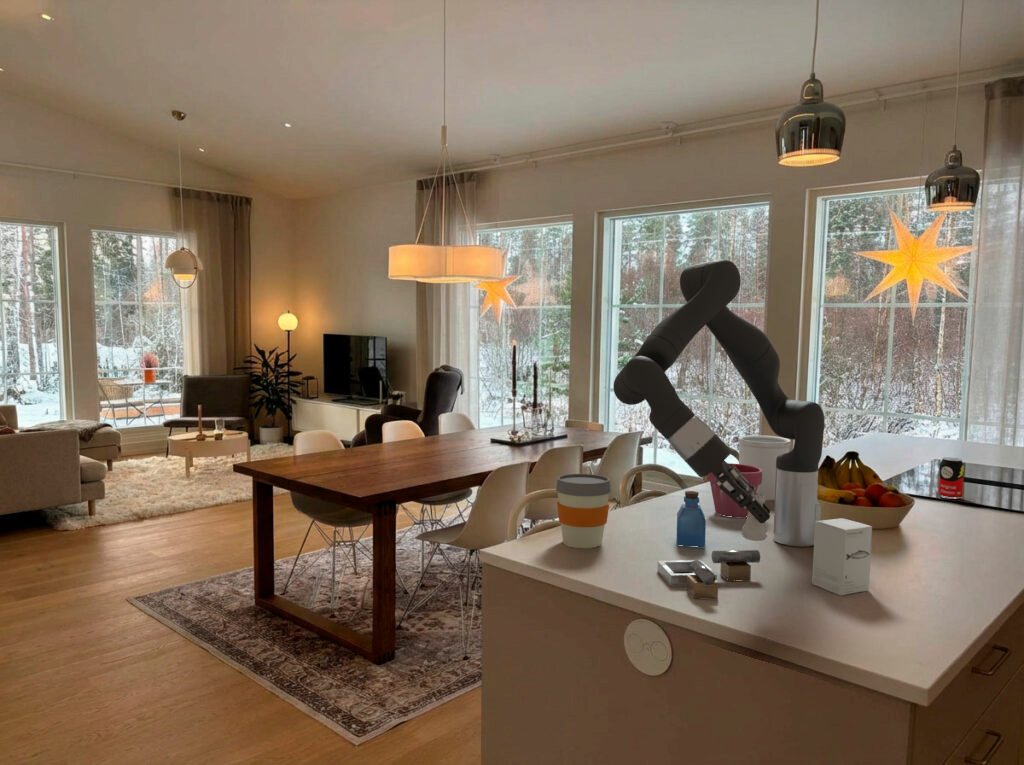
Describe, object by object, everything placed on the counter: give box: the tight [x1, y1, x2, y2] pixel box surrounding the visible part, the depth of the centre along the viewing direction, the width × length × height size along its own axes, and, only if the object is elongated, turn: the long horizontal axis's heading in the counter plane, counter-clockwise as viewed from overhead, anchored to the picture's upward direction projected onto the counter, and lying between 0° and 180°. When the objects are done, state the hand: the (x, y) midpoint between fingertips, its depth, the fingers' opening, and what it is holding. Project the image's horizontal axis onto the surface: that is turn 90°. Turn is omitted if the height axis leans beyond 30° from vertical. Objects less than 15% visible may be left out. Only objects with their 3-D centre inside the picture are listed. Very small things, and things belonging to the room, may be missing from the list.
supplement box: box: [811, 517, 873, 597], centre depth 139 cm, size 7×7×13 cm
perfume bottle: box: [676, 490, 707, 548], centre depth 168 cm, size 6×6×12 cm
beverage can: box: [937, 457, 965, 498], centre depth 219 cm, size 6×6×12 cm
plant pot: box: [706, 462, 762, 518], centre depth 197 cm, size 14×14×13 cm
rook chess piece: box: [741, 492, 768, 542], centre depth 131 cm, size 4×4×8 cm
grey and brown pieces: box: [657, 549, 761, 600], centre depth 140 cm, size 19×17×5 cm
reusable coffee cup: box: [555, 473, 612, 549], centre depth 168 cm, size 13×13×15 cm
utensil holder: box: [738, 434, 791, 501], centre depth 220 cm, size 15×15×18 cm
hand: (766, 517), depth 130 cm, fingers closed on rook chess piece, 3 cm apart
